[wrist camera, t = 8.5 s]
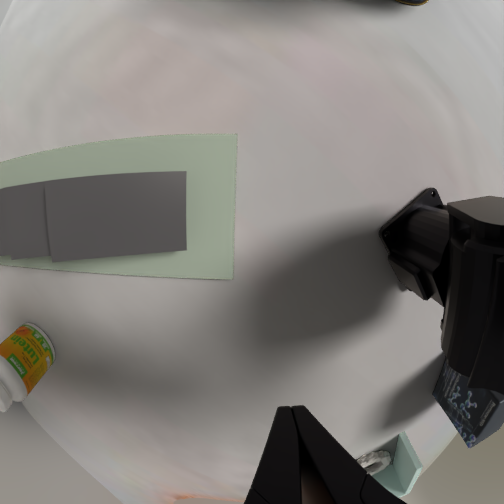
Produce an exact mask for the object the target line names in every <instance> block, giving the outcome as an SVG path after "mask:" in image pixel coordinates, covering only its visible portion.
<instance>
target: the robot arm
mask: <svg viewBox="0 0 504 504" xmlns="http://www.w3.org/2000/svg"><path fill="white" fill-rule="evenodd" d="M432 192H433V195H432V196H431V193H432ZM386 231H387V232H388V233H387V235H386V236H384V234H385V232H386ZM379 235H380V238H381V240H382V241H383V243H384V245H385V247H386V249H387V251H388V252H389V255H388V260H389V262H390V264H391V266H392V268H393V270H394V271H395V273H396V275H397V277H398V279H399V281H400V282H402V283H403V284H404V285H405V286H406V288H407V289H408V290H409V291H413V292H414V293H416V294H417V295H418V296H419V297H421V298H422V299H423V300H428V299H429V298H430V297H431V298H433V299H434V300H435V301H436V302H438V303H439V304H440V305H442V306H443V307H444V314H443V319H442V320H441V326H440V327H441V330H442V335H441V348H442V350H443V352H444V354H445V356H446V358H447V364H448V365H449V366H450V367H451V368H452V369H453V370H454V371H456V372H457V373H459V374H461V375H463V376H465V377H468V378H470V379H469V381H468V384H467V387H468V388H484V389H488V390H492V391H496V392H498V393H500V394H503V395H504V198H502V197H494V196H485V197H479V198H473V199H468V200H462V201H456V202H450V203H447V205H443V203H442V201H441V199H440V196H439V194H438V192H437V190H436V189H435V188H428V189H427V190H426V191H425V192H424V193H423V194H421V195H420V196H419V197H418V198H417V199H416V200H415V201H413V202H412V203H411V204H410V205H409V206H408V207H406V208H405V209H404V210H403V211H402V212H401V213H399V214H398V215H397V216H396V217H395V218H393V219H392V220H391V221H390V222H389V223H387V224H386V225H385V226H384V227H382V228H381V230H380V232H379ZM244 504H407V503H405V502H404V501H402V500H401V499H399V498H398V497H397V496H395V495H394V494H392V493H391V492H390V491H388V490H387V489H386V488H385V487H383V486H382V485H381V484H380V483H379V482H378V481H377V480H376V479H375V478H373V477H372V476H371V475H370V474H369V473H367V471H366V470H365V469H364V468H363V467H362V466H361V465H360V464H359V463H358V462H357V461H356V460H355V459H354V458H353V457H352V456H351V455H350V454H349V453H348V452H347V451H346V450H345V449H344V448H343V447H342V446H341V445H340V444H339V443H338V442H337V441H336V439H335V438H334V437H333V436H332V435H331V434H330V433H329V432H328V431H327V430H326V429H325V428H324V427H323V426H322V425H321V424H320V422H319V421H318V420H317V419H316V418H315V417H314V416H313V415H312V414H311V413H310V412H309V410H308V409H307V408H306V407H305V406H303V405H299V406H292V407H290V406H280V407H278V408H277V411H276V414H275V417H274V421H273V424H272V427H271V430H270V433H269V436H268V439H267V442H266V445H265V448H264V451H263V454H262V457H261V460H260V463H259V466H258V468H257V471H256V474H255V477H254V479H253V482H252V485H251V489H250V490H249V492H248V495H247V497H246V500H245V502H244Z"/></svg>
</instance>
